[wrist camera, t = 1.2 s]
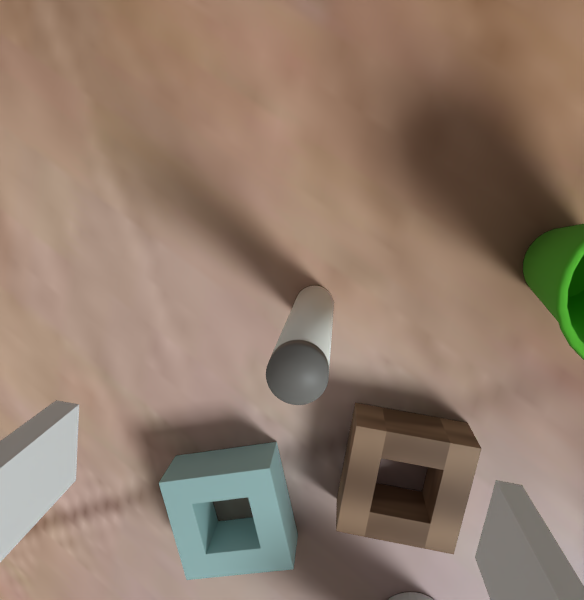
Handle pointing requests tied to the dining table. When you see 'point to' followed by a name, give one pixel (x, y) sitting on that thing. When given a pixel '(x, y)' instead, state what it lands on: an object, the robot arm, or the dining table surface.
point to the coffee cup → (410, 596)
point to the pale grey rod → (303, 349)
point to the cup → (560, 279)
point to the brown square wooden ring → (399, 501)
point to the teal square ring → (239, 532)
